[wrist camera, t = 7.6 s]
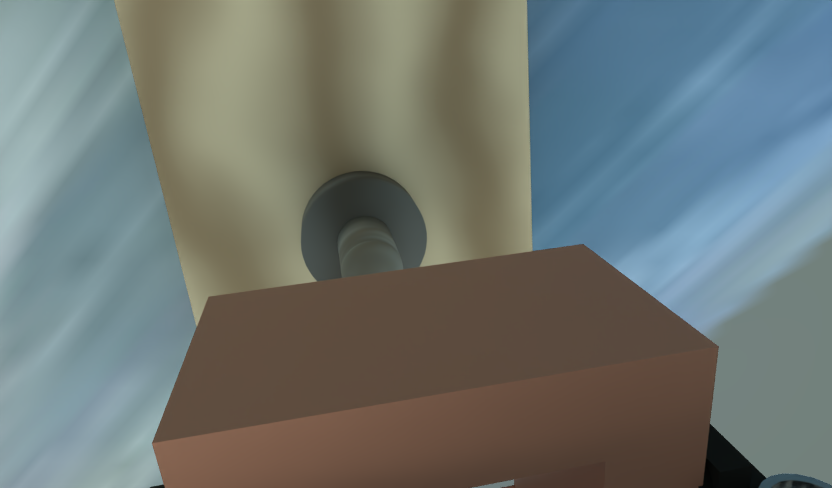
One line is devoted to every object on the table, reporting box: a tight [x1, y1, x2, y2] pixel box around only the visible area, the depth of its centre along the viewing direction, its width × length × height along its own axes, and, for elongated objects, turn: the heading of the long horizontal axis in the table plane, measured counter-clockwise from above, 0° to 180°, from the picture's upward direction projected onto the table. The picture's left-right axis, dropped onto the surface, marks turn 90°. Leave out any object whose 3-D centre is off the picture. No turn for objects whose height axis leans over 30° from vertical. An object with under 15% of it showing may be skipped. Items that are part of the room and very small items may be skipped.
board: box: [114, 0, 532, 326], centre depth 23 cm, size 18×30×10 cm, turn 5°
